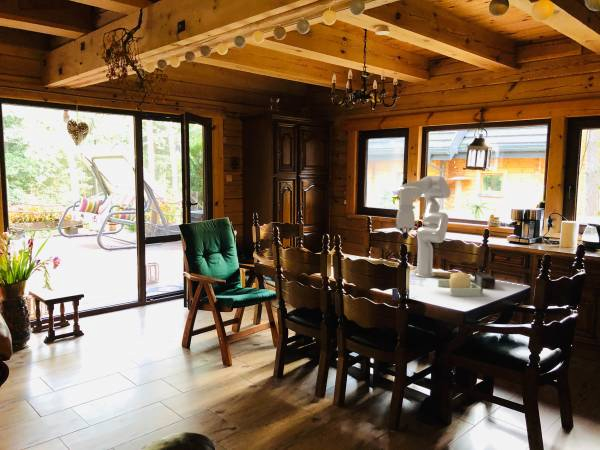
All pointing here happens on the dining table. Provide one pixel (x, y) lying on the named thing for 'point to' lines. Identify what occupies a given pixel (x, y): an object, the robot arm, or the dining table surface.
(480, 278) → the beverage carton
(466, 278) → the pale yellow ball
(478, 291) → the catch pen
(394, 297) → the flask
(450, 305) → the dining table surface
